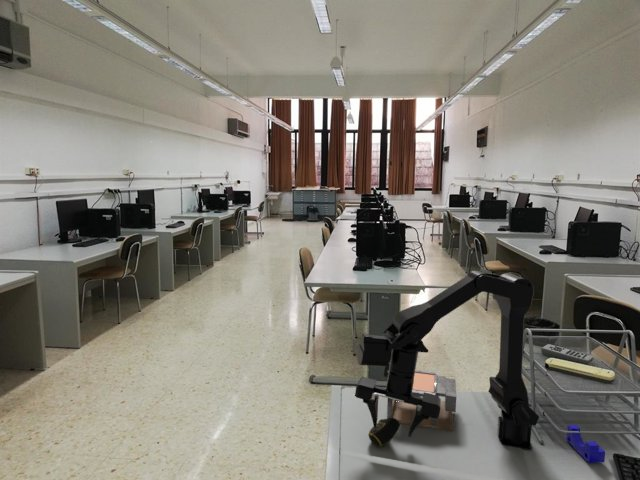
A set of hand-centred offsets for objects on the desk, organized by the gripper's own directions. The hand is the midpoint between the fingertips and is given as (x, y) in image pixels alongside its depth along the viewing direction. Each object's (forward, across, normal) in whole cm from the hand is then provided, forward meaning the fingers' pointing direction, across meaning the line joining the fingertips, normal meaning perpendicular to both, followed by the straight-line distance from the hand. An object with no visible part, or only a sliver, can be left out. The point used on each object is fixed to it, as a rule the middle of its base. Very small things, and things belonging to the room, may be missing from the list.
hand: (392, 431), depth 99 cm
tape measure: (0, -2, -1) cm, 2 cm away
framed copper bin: (+2, -6, -16) cm, 18 cm away
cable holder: (-2, -42, -11) cm, 44 cm away
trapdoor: (-6, -8, -16) cm, 19 cm away
